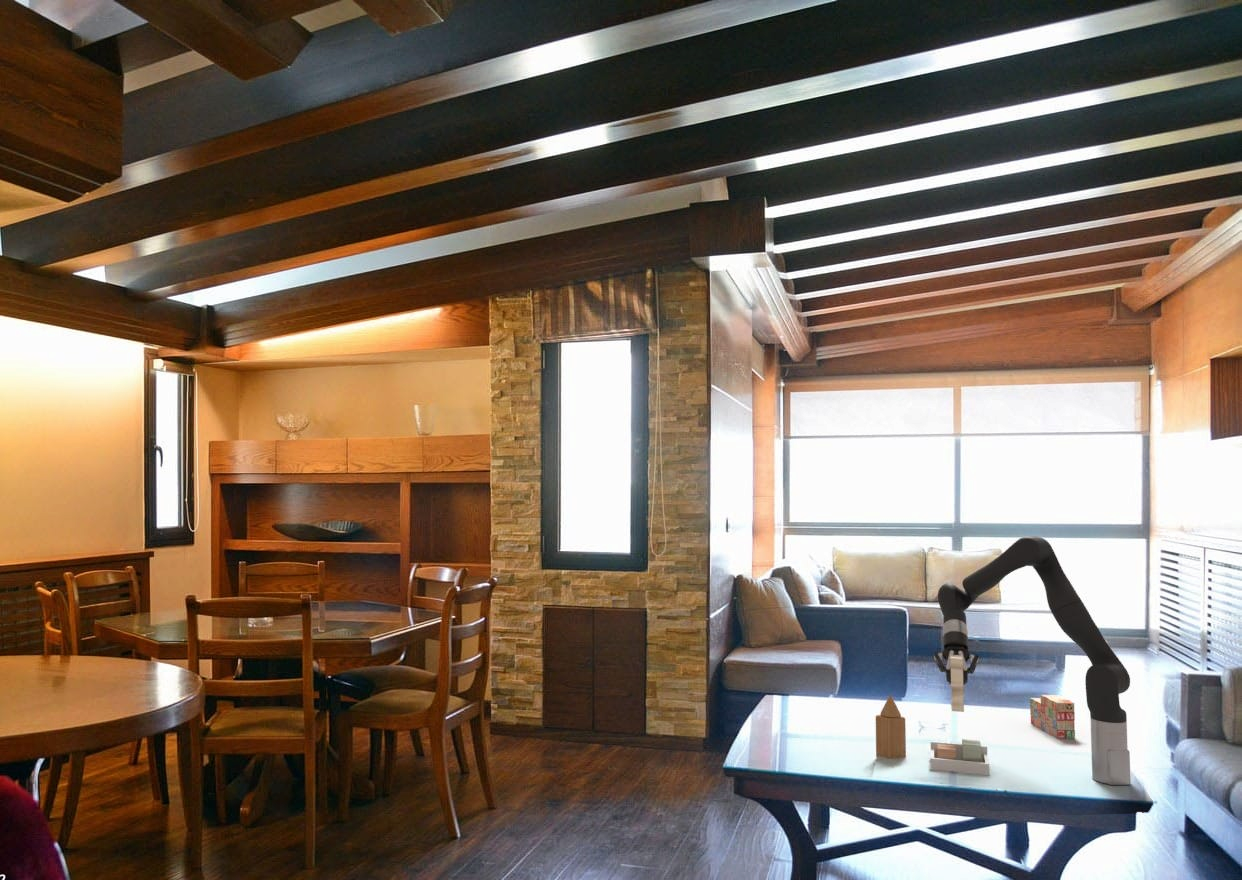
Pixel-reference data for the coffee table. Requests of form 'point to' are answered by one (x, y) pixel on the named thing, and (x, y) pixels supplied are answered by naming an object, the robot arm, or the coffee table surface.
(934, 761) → the white tray
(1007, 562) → the robot arm
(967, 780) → the coffee table surface
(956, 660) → the birch board
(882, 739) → the decorative item
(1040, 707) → the stack of blocks
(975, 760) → the offcut tall
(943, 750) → the offcut short
